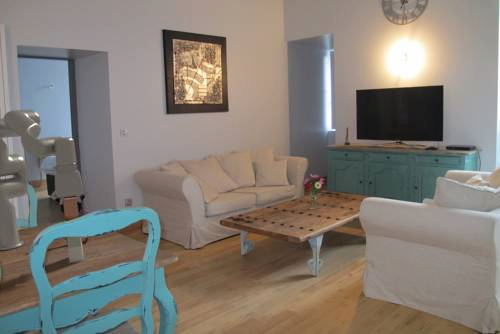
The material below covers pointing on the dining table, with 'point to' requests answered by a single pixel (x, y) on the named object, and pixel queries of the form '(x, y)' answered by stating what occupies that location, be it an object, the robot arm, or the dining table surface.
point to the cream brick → (76, 254)
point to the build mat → (77, 261)
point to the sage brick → (74, 242)
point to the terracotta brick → (70, 206)
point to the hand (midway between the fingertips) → (71, 212)
